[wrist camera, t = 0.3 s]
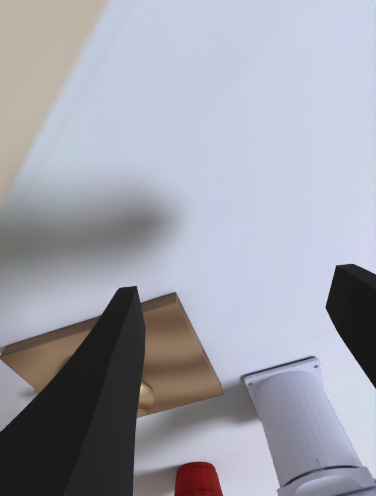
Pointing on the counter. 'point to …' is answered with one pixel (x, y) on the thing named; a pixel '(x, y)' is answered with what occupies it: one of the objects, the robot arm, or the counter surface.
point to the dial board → (155, 362)
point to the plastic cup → (197, 480)
